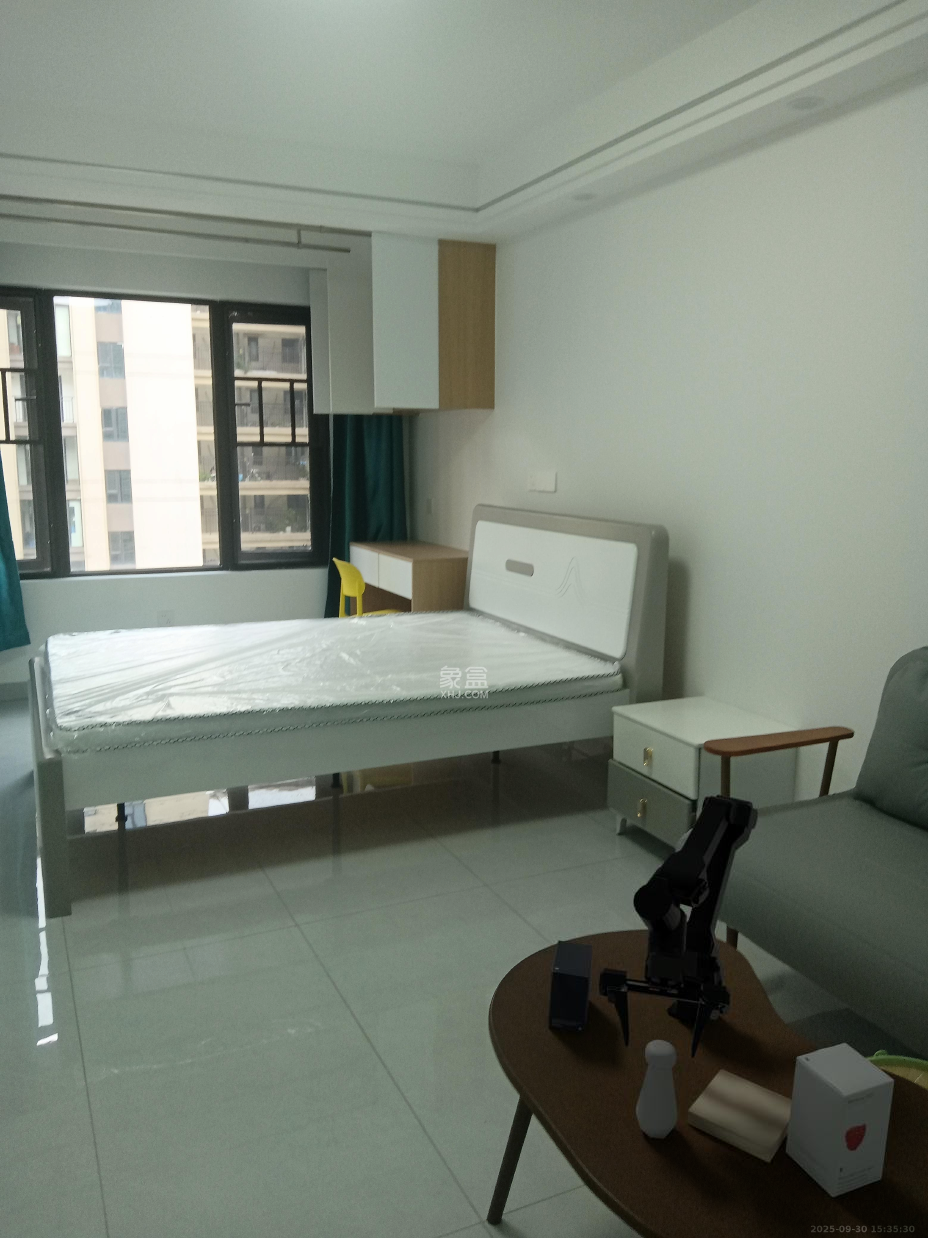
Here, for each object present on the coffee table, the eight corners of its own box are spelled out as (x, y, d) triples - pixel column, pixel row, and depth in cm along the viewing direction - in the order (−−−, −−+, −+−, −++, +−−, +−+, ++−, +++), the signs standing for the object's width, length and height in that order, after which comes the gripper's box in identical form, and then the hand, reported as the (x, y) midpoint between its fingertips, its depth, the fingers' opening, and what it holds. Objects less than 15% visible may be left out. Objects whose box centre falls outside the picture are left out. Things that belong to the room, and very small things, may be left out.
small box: (586, 1035, 155) (589, 976, 153) (546, 1029, 156) (549, 971, 154) (590, 999, 165) (594, 944, 163) (553, 993, 166) (556, 939, 165)
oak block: (720, 1083, 145) (721, 1069, 144) (798, 1118, 138) (799, 1103, 137) (686, 1126, 135) (688, 1111, 135) (768, 1166, 128) (770, 1150, 128)
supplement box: (832, 1200, 122) (844, 1097, 119) (783, 1153, 130) (793, 1055, 127) (884, 1180, 126) (896, 1080, 123) (833, 1135, 134) (844, 1040, 131)
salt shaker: (684, 1129, 134) (690, 1046, 132) (662, 1150, 130) (669, 1065, 128) (648, 1108, 138) (654, 1028, 136) (626, 1128, 134) (632, 1046, 131)
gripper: (603, 918, 139) (592, 1029, 130) (734, 936, 135) (732, 1052, 126) (605, 941, 148) (594, 1047, 139) (727, 959, 144) (724, 1069, 135)
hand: (659, 1053), depth 135 cm, fingers open, 9 cm apart
